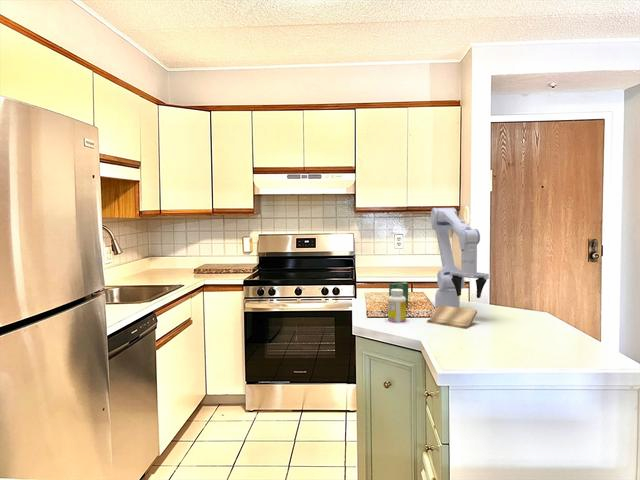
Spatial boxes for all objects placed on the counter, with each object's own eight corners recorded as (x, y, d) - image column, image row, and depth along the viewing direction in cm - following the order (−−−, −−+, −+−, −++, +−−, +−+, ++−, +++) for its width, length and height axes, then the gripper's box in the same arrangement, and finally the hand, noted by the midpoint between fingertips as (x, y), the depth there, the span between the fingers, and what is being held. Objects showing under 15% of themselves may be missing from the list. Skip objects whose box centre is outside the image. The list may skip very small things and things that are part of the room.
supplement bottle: (405, 321, 185) (405, 288, 184) (406, 325, 179) (406, 291, 178) (387, 320, 186) (387, 288, 185) (388, 325, 179) (388, 291, 178)
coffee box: (404, 312, 199) (404, 281, 198) (408, 314, 196) (408, 282, 195) (388, 315, 195) (388, 283, 194) (392, 316, 192) (392, 284, 191)
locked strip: (427, 322, 179) (427, 319, 179) (429, 321, 180) (429, 318, 180) (466, 329, 169) (466, 326, 169) (468, 327, 171) (468, 325, 171)
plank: (430, 320, 181) (430, 318, 181) (439, 306, 186) (438, 304, 186) (469, 327, 172) (469, 324, 171) (477, 312, 177) (476, 310, 176)
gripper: (446, 261, 184) (446, 296, 185) (484, 263, 175) (483, 300, 176) (453, 259, 190) (453, 293, 190) (490, 261, 181) (490, 297, 181)
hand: (468, 296), depth 184 cm, fingers open, 7 cm apart
